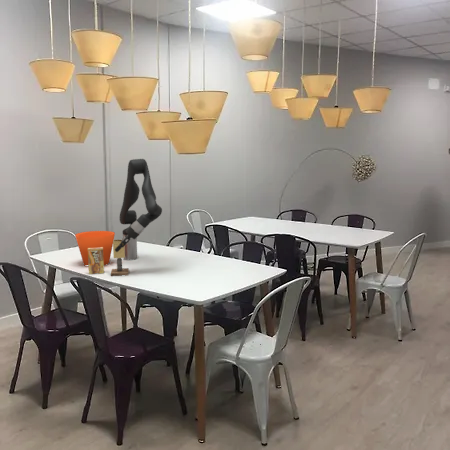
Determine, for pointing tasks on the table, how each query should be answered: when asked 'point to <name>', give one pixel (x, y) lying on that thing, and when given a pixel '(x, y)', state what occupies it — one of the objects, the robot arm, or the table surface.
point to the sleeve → (121, 252)
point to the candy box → (95, 260)
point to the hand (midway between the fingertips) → (116, 249)
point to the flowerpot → (95, 243)
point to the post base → (115, 273)
